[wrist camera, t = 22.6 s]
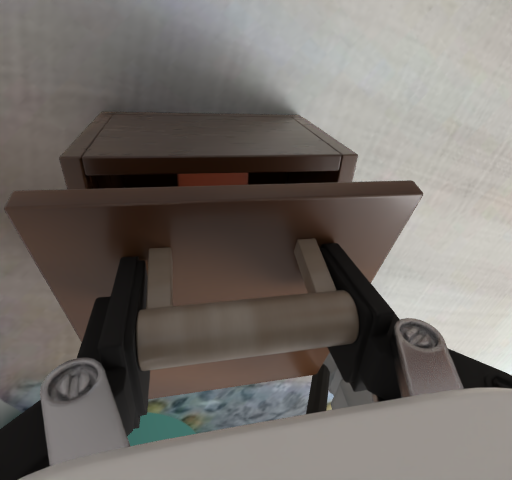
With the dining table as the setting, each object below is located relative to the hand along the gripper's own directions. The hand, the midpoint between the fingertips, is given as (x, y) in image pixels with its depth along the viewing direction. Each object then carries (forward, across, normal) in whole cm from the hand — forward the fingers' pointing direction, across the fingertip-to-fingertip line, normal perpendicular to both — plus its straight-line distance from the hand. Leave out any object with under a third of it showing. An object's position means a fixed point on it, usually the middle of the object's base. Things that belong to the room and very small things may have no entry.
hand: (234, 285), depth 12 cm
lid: (+2, 0, +4) cm, 4 cm away
